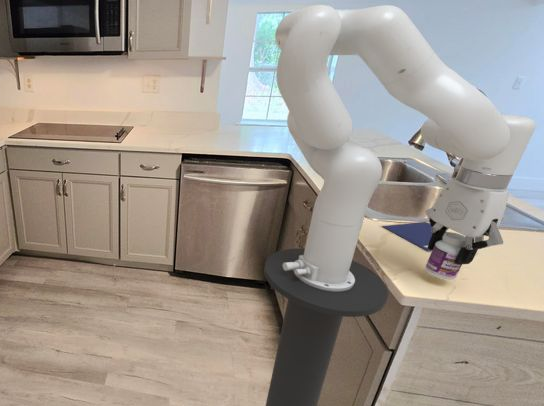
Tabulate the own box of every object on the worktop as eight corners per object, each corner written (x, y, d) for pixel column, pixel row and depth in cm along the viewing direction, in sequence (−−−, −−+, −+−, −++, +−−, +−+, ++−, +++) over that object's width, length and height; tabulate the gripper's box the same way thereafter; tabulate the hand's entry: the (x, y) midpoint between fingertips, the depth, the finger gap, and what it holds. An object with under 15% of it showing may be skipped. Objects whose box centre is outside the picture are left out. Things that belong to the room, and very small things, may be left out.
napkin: (427, 251, 94) (427, 249, 94) (382, 226, 107) (382, 225, 107) (474, 246, 96) (475, 244, 96) (424, 222, 109) (425, 221, 108)
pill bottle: (439, 281, 79) (456, 242, 75) (418, 267, 84) (433, 230, 80) (462, 280, 80) (480, 241, 76) (439, 266, 84) (456, 230, 80)
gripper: (425, 166, 80) (398, 238, 87) (515, 195, 64) (473, 280, 72) (455, 164, 81) (426, 236, 88) (551, 193, 65) (506, 277, 73)
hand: (447, 255), depth 80 cm, fingers closed on pill bottle, 5 cm apart
